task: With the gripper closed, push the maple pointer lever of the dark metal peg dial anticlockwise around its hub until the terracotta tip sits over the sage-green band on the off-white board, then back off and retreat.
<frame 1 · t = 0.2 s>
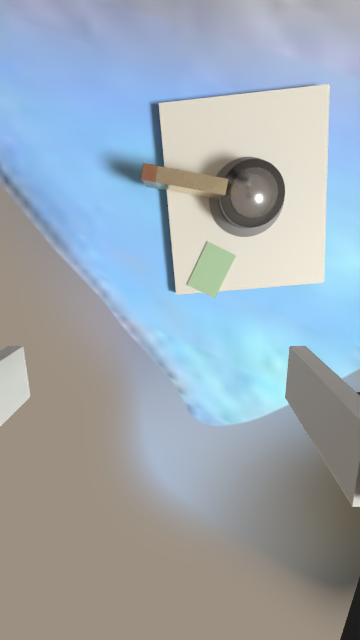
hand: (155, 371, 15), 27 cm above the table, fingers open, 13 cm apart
peg dial: (213, 188, 35), point 4 cm above the table, hinge at 0.0°
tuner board: (244, 199, 38), on the table
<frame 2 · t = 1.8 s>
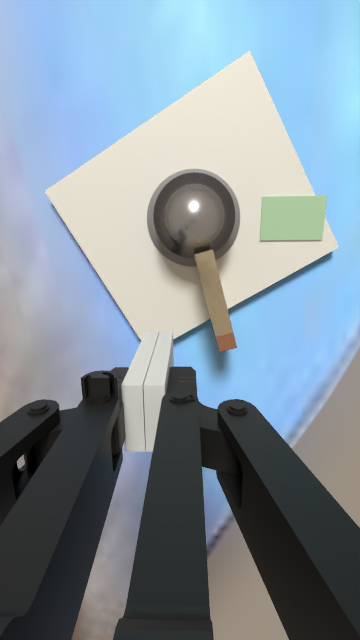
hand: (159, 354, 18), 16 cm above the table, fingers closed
peg dial: (205, 264, 28), point 4 cm above the table, hinge at 0.0°
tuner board: (193, 220, 31), on the table
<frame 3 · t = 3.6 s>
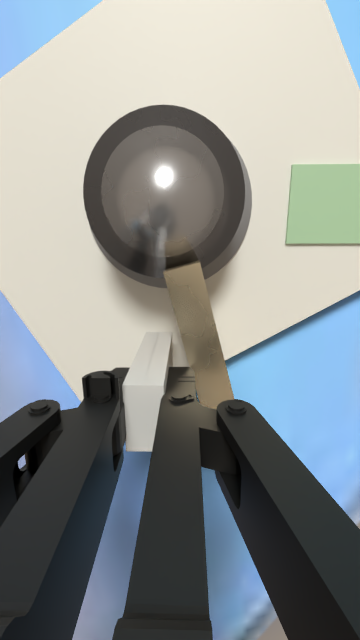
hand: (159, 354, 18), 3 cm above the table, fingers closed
peg dial: (188, 288, 15), point 4 cm above the table, hinge at 0.0°, touching gripper
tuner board: (169, 208, 18), on the table
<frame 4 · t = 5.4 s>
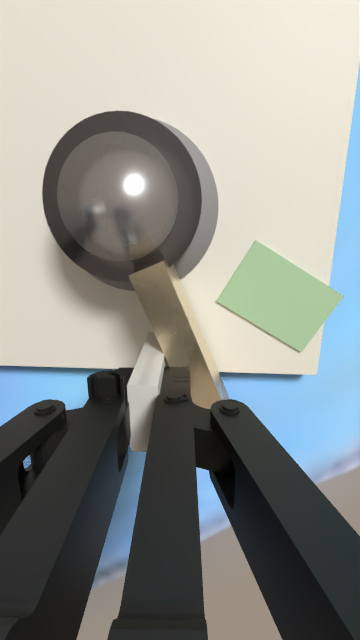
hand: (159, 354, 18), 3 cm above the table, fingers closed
peg dial: (162, 288, 15), point 4 cm above the table, hinge at 38.6°, touching gripper
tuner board: (139, 211, 18), on the table
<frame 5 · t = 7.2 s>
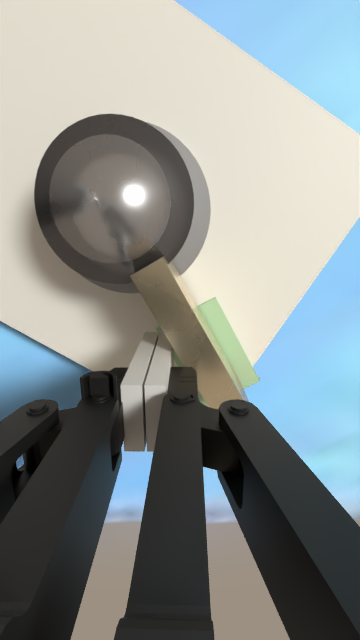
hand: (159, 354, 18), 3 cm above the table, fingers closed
peg dial: (164, 285, 15), point 4 cm above the table, hinge at 75.6°, touching gripper
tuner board: (132, 214, 18), on the table
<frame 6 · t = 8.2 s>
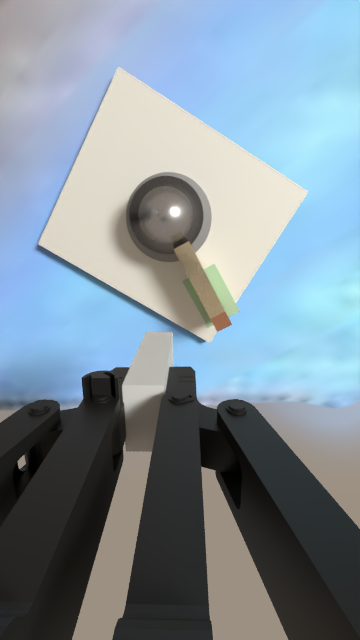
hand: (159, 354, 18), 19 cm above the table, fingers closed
peg dial: (187, 256, 31), point 4 cm above the table, hinge at 73.9°
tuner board: (169, 219, 34), on the table
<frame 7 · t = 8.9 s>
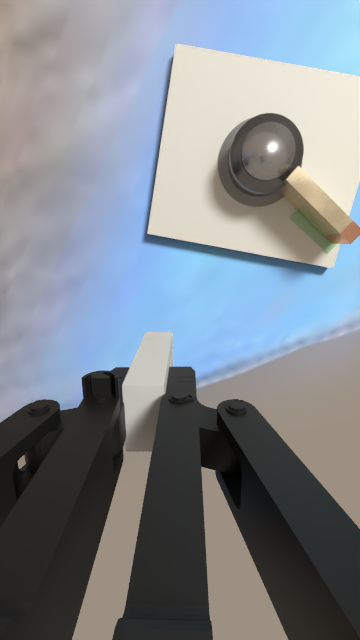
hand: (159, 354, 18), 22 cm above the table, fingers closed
peg dial: (294, 186, 32), point 4 cm above the table, hinge at 73.9°
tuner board: (257, 165, 35), on the table
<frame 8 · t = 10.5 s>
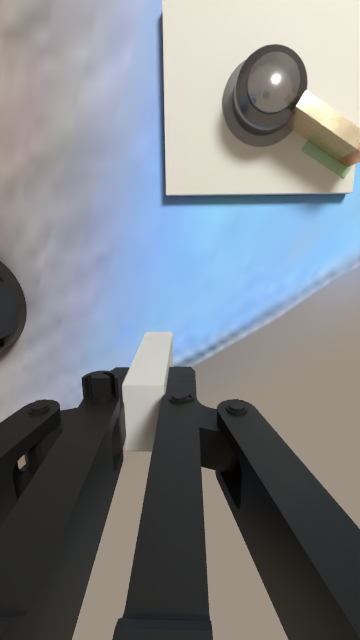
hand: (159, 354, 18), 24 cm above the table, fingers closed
peg dial: (303, 114, 32), point 4 cm above the table, hinge at 73.9°
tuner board: (260, 106, 36), on the table
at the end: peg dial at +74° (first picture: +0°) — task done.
